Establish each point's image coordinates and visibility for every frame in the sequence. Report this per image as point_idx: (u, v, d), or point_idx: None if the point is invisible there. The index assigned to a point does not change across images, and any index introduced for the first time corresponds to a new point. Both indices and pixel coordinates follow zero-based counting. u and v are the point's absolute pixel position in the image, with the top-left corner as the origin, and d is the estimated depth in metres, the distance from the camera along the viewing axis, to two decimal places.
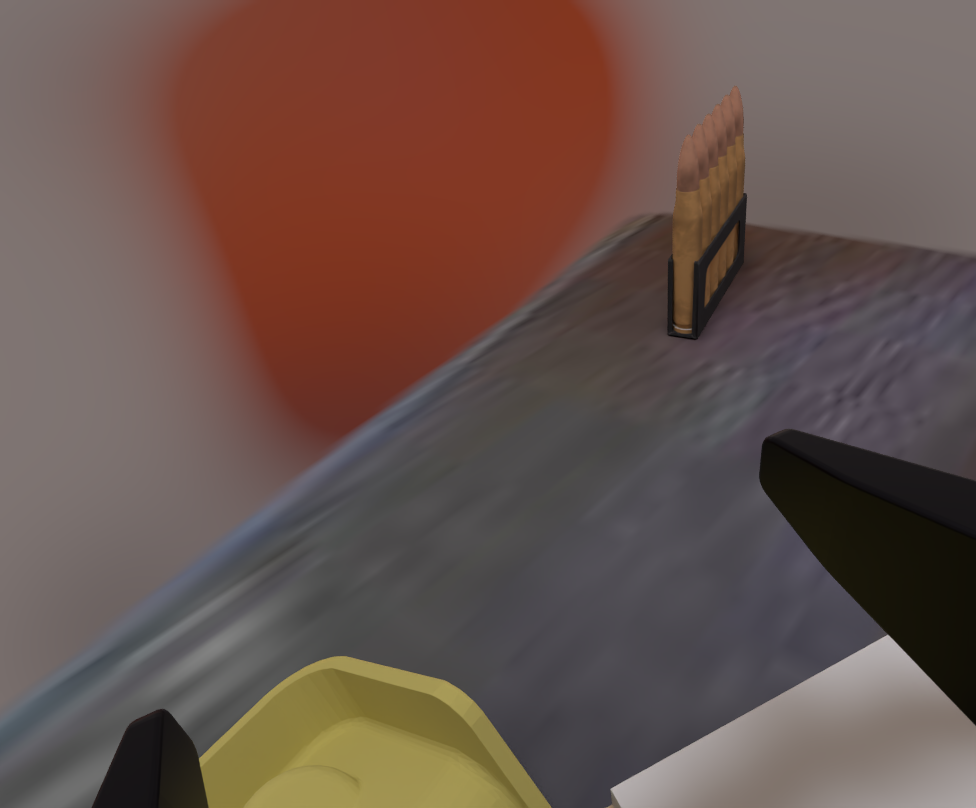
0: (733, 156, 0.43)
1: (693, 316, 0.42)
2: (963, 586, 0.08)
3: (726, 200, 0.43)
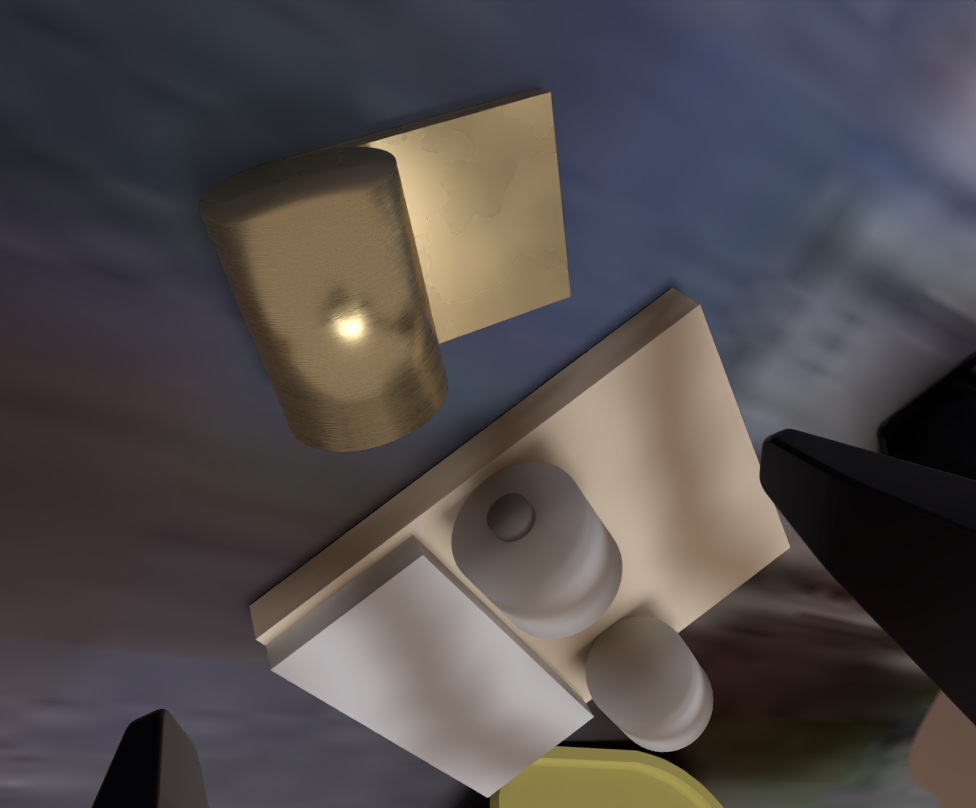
0: None
1: None
2: (963, 586, 0.08)
3: None
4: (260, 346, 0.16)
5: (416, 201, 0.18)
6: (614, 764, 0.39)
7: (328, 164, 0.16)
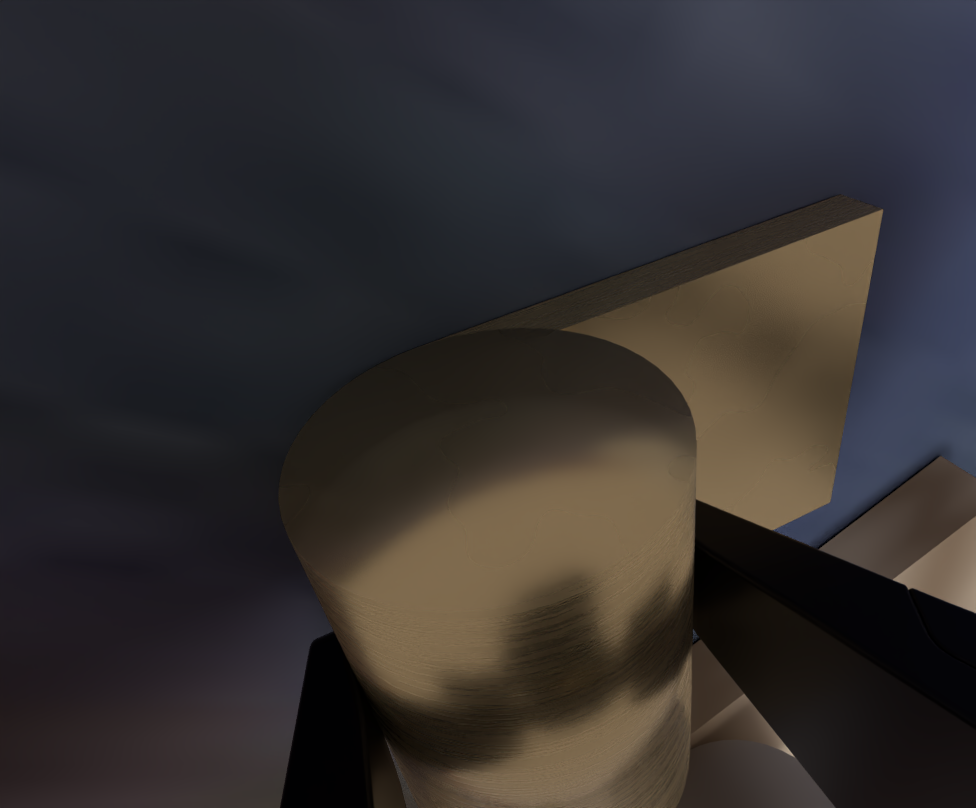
0: None
1: None
2: (811, 670, 0.08)
3: None
4: (390, 737, 0.08)
5: None
6: None
7: (526, 383, 0.08)
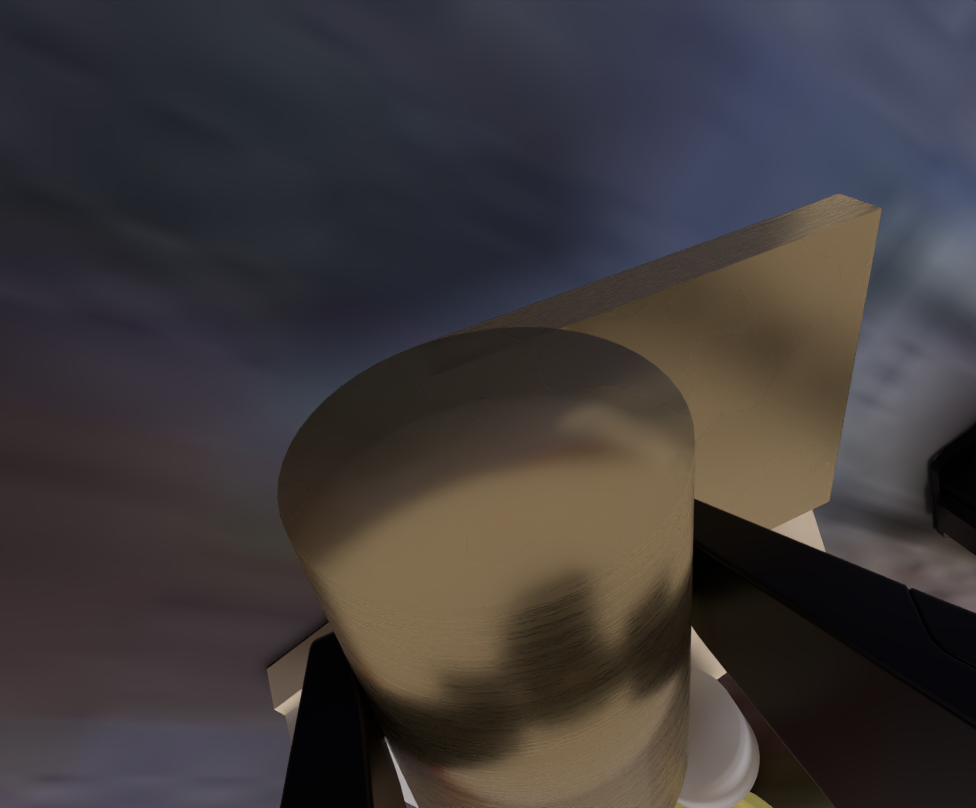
0: None
1: None
2: (811, 670, 0.08)
3: None
4: (389, 735, 0.08)
5: None
6: None
7: (525, 382, 0.08)
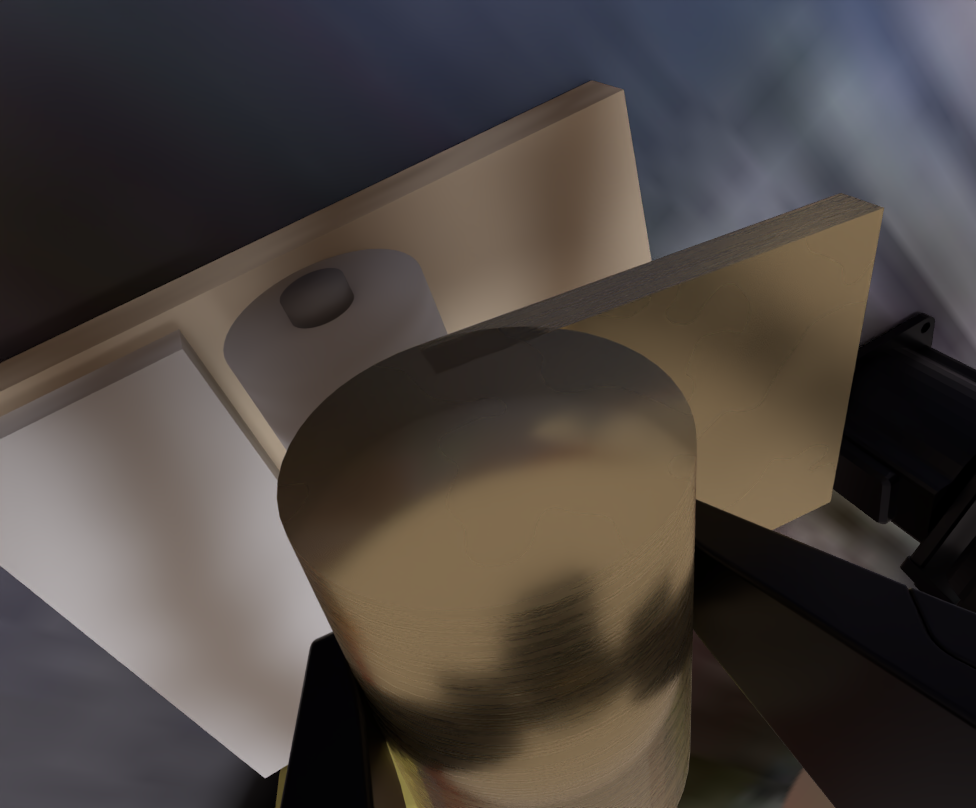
0: None
1: None
2: (811, 670, 0.08)
3: None
4: (389, 737, 0.08)
5: None
6: None
7: (526, 381, 0.08)
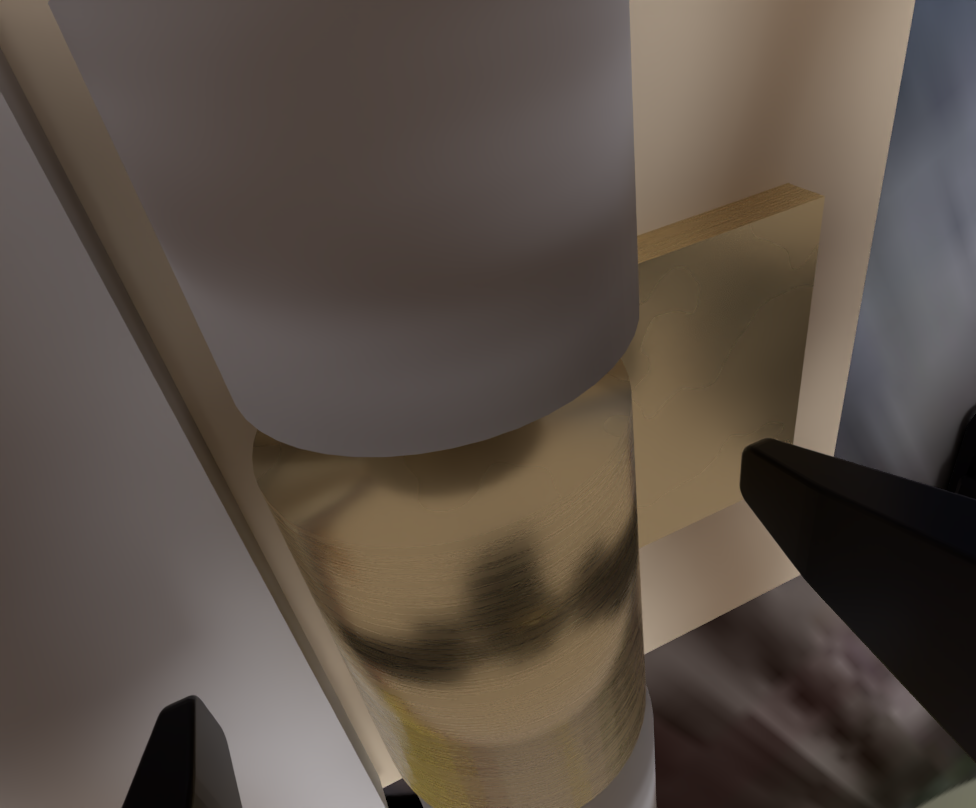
0: None
1: None
2: (939, 600, 0.08)
3: None
4: (359, 682, 0.09)
5: None
6: None
7: None
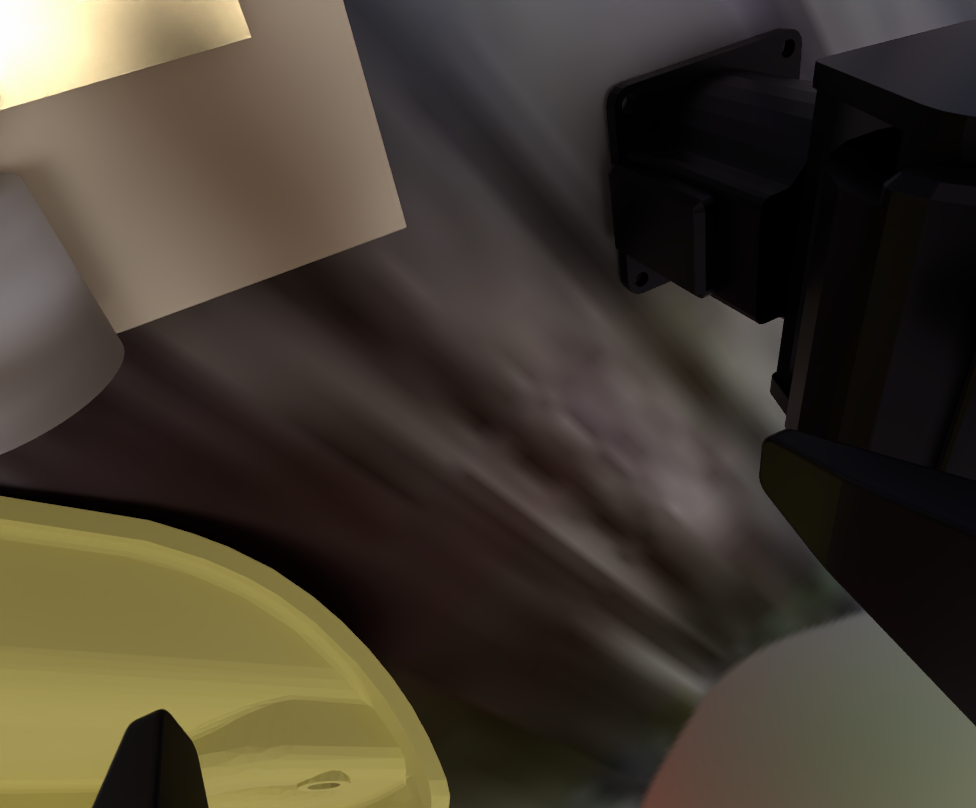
0: None
1: None
2: (963, 586, 0.08)
3: None
4: None
5: None
6: (87, 542, 0.19)
7: None
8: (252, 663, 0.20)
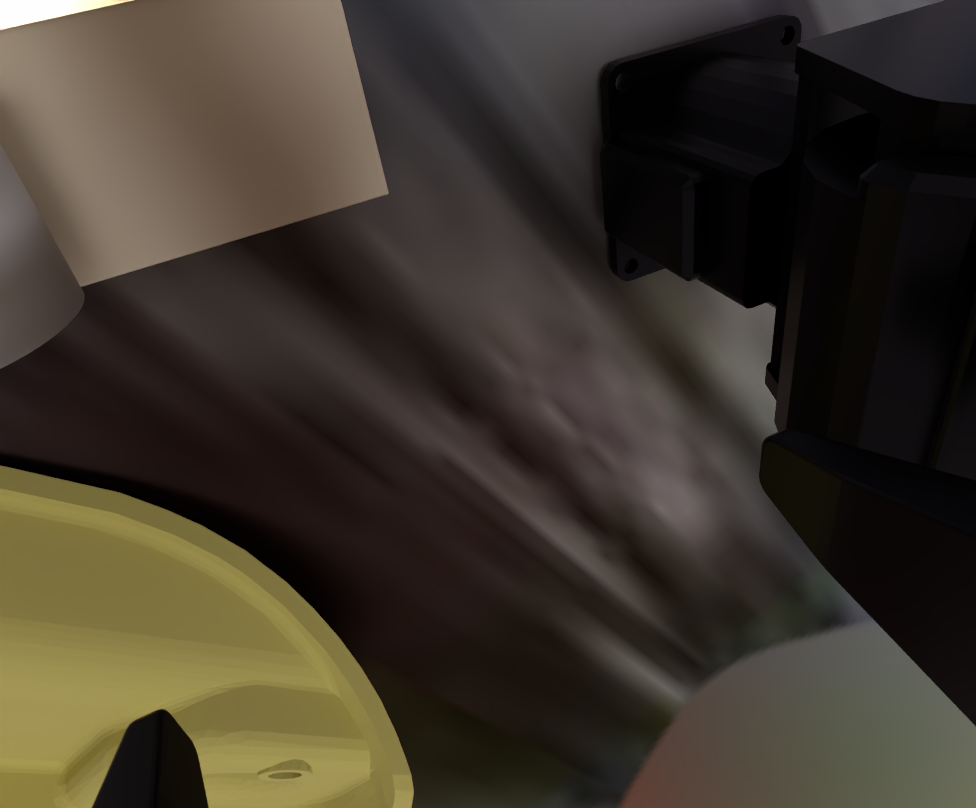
0: None
1: None
2: (963, 586, 0.08)
3: None
4: None
5: None
6: (55, 511, 0.19)
7: None
8: (218, 645, 0.20)
